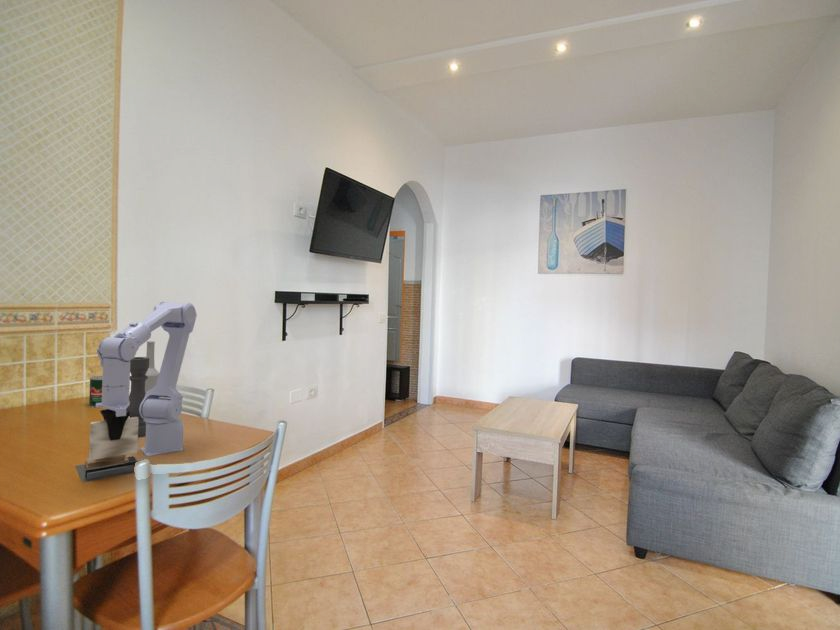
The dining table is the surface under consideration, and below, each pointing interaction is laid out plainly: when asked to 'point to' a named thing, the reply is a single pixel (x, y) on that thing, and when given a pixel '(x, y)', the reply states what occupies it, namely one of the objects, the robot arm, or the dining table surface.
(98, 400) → the canned tomato
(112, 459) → the offcut stack
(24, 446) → the dining table surface
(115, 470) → the rack
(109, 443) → the beige flat block
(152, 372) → the bottle
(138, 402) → the candle holder
